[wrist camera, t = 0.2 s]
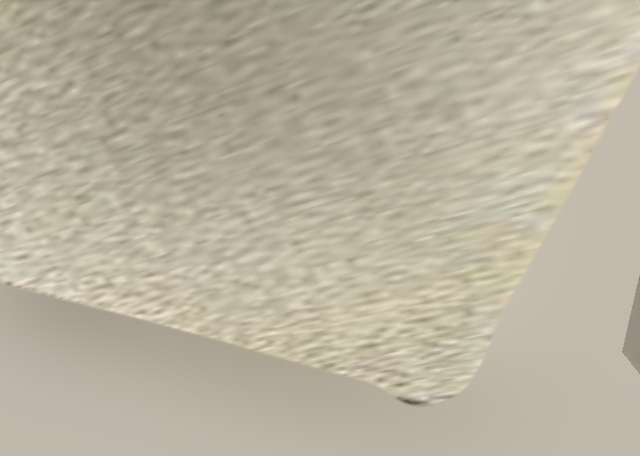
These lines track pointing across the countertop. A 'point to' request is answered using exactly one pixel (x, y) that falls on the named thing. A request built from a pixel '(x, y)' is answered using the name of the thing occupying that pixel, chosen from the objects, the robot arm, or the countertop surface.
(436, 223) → the countertop surface
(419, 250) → the countertop surface
